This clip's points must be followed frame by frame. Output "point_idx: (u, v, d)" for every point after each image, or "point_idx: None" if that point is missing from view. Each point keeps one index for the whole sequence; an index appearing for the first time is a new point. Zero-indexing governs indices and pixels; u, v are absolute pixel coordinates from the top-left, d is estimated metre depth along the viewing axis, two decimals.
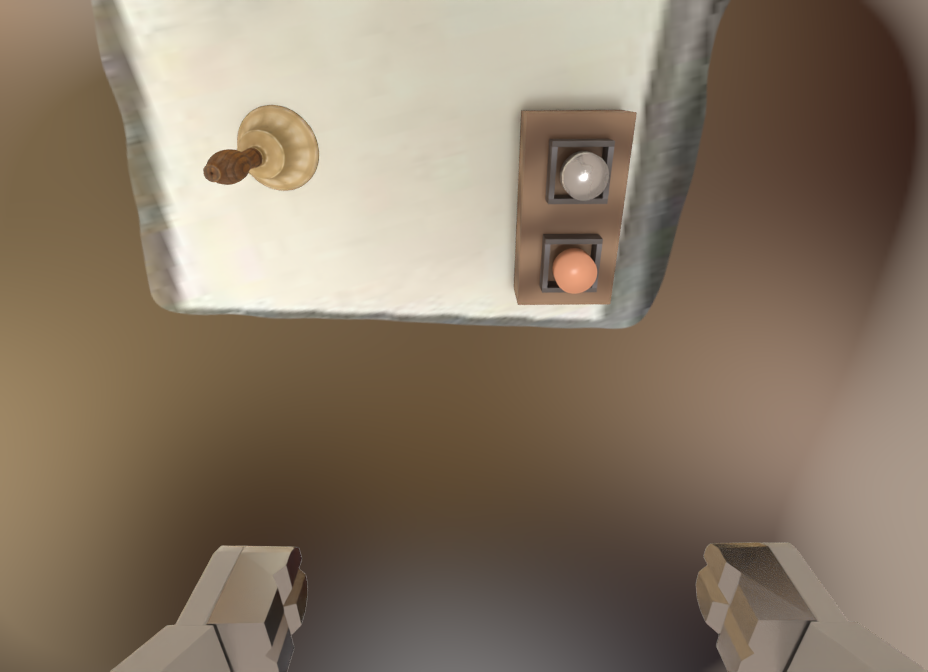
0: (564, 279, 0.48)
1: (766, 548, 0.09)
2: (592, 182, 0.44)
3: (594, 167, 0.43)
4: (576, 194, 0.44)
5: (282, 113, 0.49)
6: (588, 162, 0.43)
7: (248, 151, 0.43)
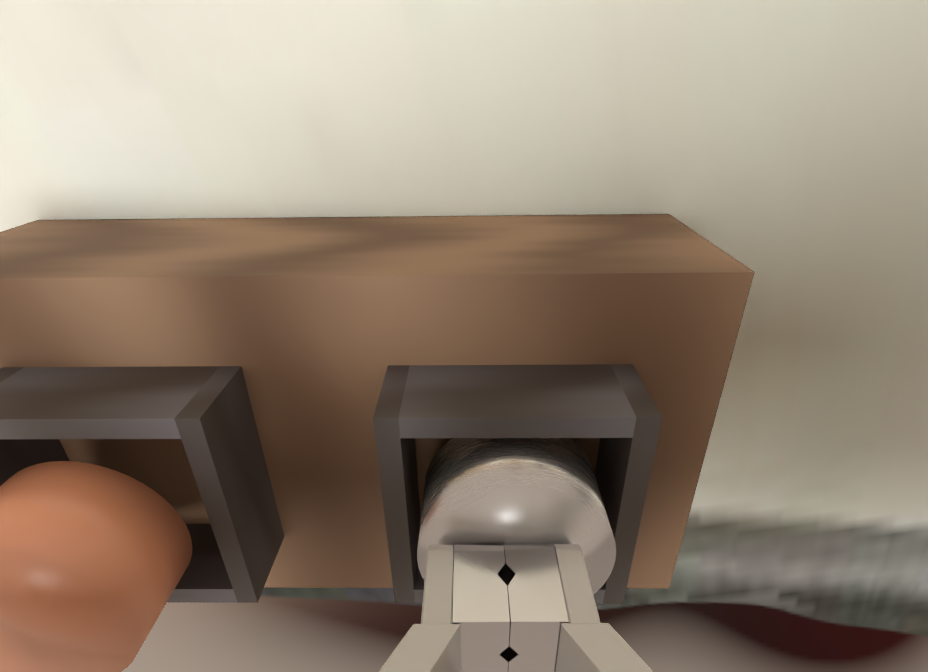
0: None
1: (551, 549, 0.09)
2: None
3: None
4: (442, 534, 0.10)
5: None
6: None
7: None
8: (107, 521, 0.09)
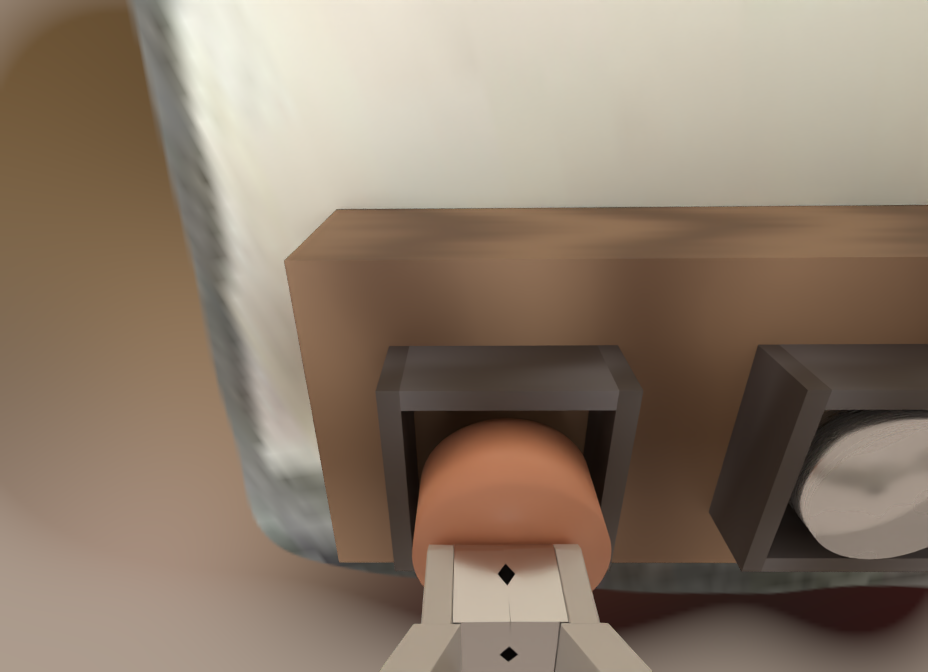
0: (486, 521, 0.10)
1: (551, 550, 0.09)
2: (873, 518, 0.12)
3: (926, 519, 0.12)
4: (847, 475, 0.11)
5: None
6: None
7: None
8: (576, 469, 0.10)
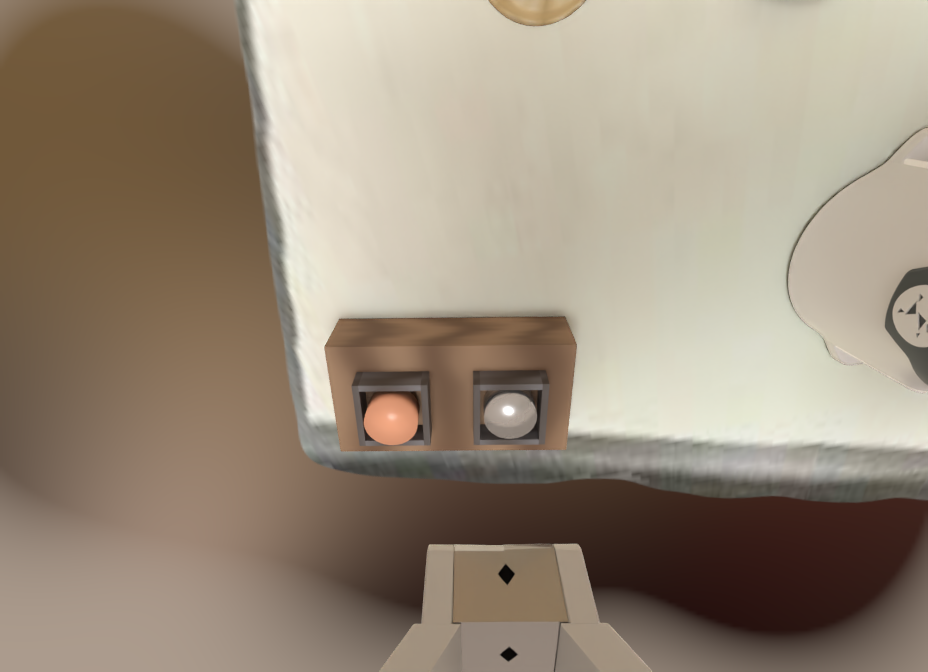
0: (382, 412, 0.37)
1: (551, 549, 0.09)
2: (504, 424, 0.38)
3: (521, 424, 0.38)
4: (491, 410, 0.37)
5: None
6: (527, 418, 0.38)
7: None
8: (409, 400, 0.37)
